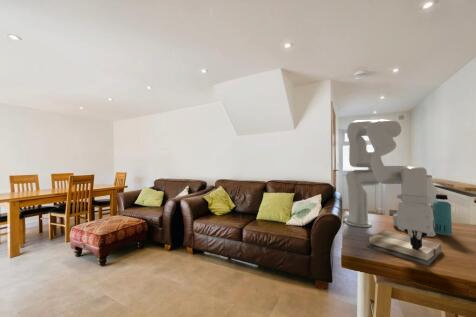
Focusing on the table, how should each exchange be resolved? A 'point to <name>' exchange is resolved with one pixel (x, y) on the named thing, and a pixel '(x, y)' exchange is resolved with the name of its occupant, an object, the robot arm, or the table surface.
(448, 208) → the beverage bottle
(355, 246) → the table surface
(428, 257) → the birch plank
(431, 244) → the floor panel
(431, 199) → the fruit juice
